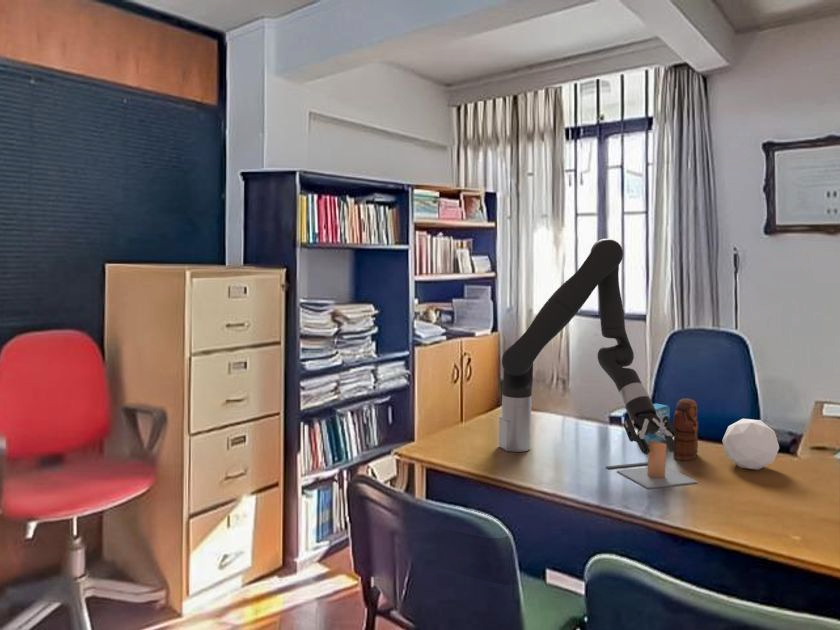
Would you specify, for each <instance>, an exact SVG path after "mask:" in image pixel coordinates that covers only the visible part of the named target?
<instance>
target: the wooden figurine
mask: <svg viewBox="0 0 840 630" xmlns="http://www.w3.org/2000/svg"><path fill="white" fill-rule="evenodd" d="M672 425H673V427H674V428H675V430H676V432H677V434H676V435H674V436H673V440H674V442H675V444H676V450H675V451H674V452H673V459H675V460H676V461H693V460H696V457H697V456H698V454H697V453H698V447H699V444H698V442H699V441H698V439H699V438H698V434H699V425H700V424H699V420H698V404H697V402H696V400H694V399H693V398H692V399H691V398H687V397H686V398H681V399H679V400H678V401H677V403H676V405H675V411H674V414H673V422H672Z"/></svg>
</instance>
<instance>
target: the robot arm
mask: <svg viewBox="0 0 840 630" xmlns="http://www.w3.org/2000/svg"><path fill="white" fill-rule="evenodd" d="M623 257H624V250H623V247H622V245H621V244H620V243H619V242H618V241H616V240H614V239H613V238H612V239H611V238H601V239H598V240H597V241H596V242H595V243H594V244H593V245H592V246H591V248H590V253H589V254H588V256H587V257H586V259H585V260H584V262H583V263H582V264H581V266H580V267H579V268H578V269H577V271H576V272H575V273H574V274H573V275H572V276H570V277H569V278H568V279H567V280H566V281H565V282H563V283H562V284H561V285H560V286H559V287H558V288H557V290H555V291H554V292H553V293H552V294H551V296H550V297H549V298H548V299H547V300H546V302H545V303H544V304H543V306H542V307H541V309H540V310H539V311H538V313H537V314H536V316H535V317H534V318H533V321H532V322H531V324H530V325H529V326H528V328H527V329H526V331H525V332H524V333H523V334H522V335H521V336H520V337H519V338H518V339H517V340H516V341H515V342H514V343H513V344H511V345H510V346H508V347H507V349H506V350H505V351H504V352H503V354H502V356H501V357H502V358H501V365H502V368H503V380H502V387H501V390H502V392H501V395H502V397H501V398H502V399H501V416H499V417H498V420H499V421H498V446H499V447H500V448H501V449H502V450H503V451H505V452H519V453H521V452H527V451H529V450H530V449H531V443H532V441H531V438H532V437H531V435H532V434H531V429H532V393H533V392H532V391H533V380H534V375H533V373H534V362H535V361H536V359H537V357H538V356H539V354H540V353H541V352H542V351H543V349H544V348H545V347H546V346H547V345H548V343H550V342H551V341H552V340H553V339H554V338H555V337H556V336H557V335H558V334H560V332H561V331H562V330H563V329H564V328H565V327H566V326H567V325H568V324H569V323H570V322H571V320H572V319H573V318H575V316H576V315H577V314H578V312H579V311H580V309H581V308H582V307H583V306H584V305H585V303H586V301H588V299H589V298H590V297H591V294H592V293H593V292H594V291H595V289H596V287H598V299H599V301H598V302H599V305H598V306H599V318H600V320H599V321H600V328H601V335H602V337H603V338H606V339H615V340H616V343H617V344H612V345H606V346H602V347H600V348H599V350H598V352H597V361H598V363H599V365H600V367H601V368H602V370H603V371H604V372H605V373H606V374H607V376H608V377H609V378H610V379H611V380H612V382H613V383H614V384H615V387H616V388H617V390H618V393H619V395H620V399H621V401H622V404H623V406H624V408H625V410H626V412H627V415H628V417H629V418H627V419H626V420H625V422H623V424H622V425H623V427H624V429H625V432H626V435H627V438H628V440H629V442H631V443H632V442H635V443H636V444H637V445H638V448H639V449H640V451H641V453H643V454H644V456H646V455H648V453H649V452H650V449H649V445H647V443H646V441H645V439H643V438H644V435H648V434H656V435H657V436H661V437H662V438H663V439H665V440H666V441H664V443H666V444H667V446H666V448H667V449H668V450H669V452H670V453H674V451H675V450H676V444H675V442H674V435H676V434H677V432H676V430H675V428H674V427H673V422H672V421H671V419H669V418H668V416H665V417H664V418H659V417H658V416H657V415H656V410H655V407H654V405H653V404H654V403H653V402H652V400H651V397H650V396H649V395H650V394H649V393H648V391H647V390H646V388H645V387H644V385H643V382H642V381H641V379H640V376H639V374H638V373H637V371H636V370H635V369H633V368H630V367H629V366H630V365H632V363H634V362H633V361H634V358H635V355H634V350H633V348H632V346H631V343H630V341H629V336H628V334H627V331H626V324H625V323H626V322H625V314H624V312H625V311H624V306H623V300H622V296H621V291H620V281H619V280H620V278H619V277H620V275H619V272H620V271H619V270H620V264H621V263H622V260H623ZM659 428H660V429H661V431H658V430H659ZM636 429H638V431H637V430H636ZM636 431H637V432H636ZM664 433H665V434H666V435H665V434H664Z"/></svg>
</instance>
